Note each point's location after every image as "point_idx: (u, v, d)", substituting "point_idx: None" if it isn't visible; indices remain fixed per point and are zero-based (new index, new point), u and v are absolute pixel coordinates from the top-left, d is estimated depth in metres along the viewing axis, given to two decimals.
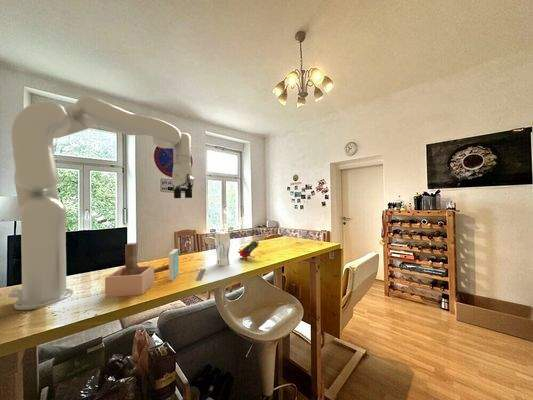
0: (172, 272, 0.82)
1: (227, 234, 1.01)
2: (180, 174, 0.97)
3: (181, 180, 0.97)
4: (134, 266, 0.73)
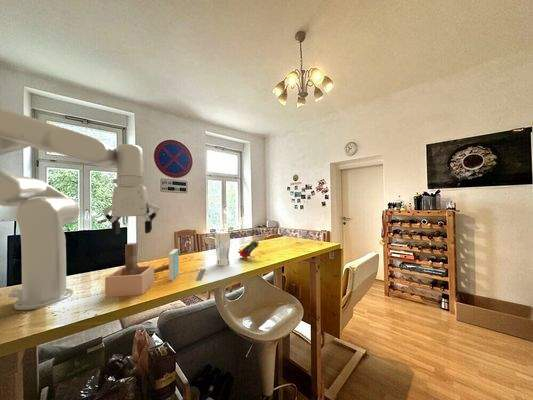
0: (172, 272, 0.82)
1: (227, 234, 1.01)
2: (138, 202, 0.72)
3: (141, 210, 0.72)
4: (134, 266, 0.73)
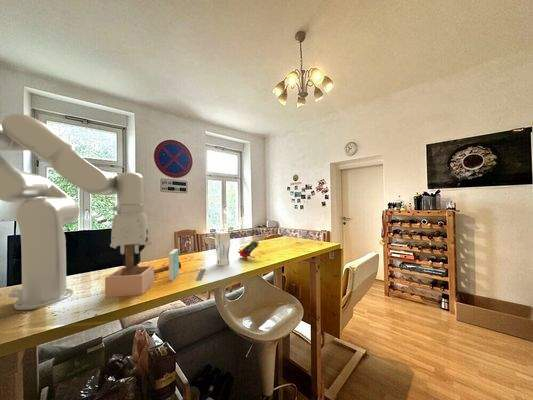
0: (172, 272, 0.82)
1: (227, 234, 1.01)
2: (137, 230, 0.72)
3: (140, 239, 0.72)
4: (134, 266, 0.73)
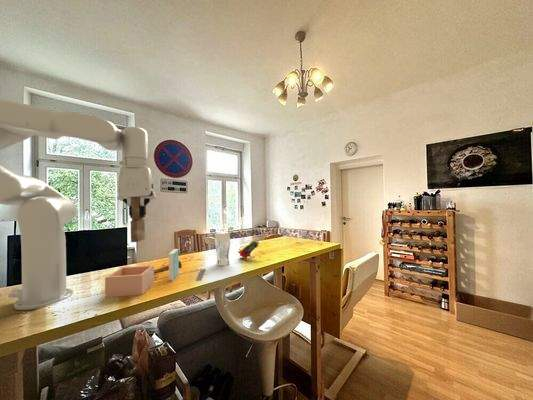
0: (172, 272, 0.82)
1: (227, 234, 1.01)
2: (143, 183, 0.74)
3: (145, 191, 0.74)
4: (140, 218, 0.76)
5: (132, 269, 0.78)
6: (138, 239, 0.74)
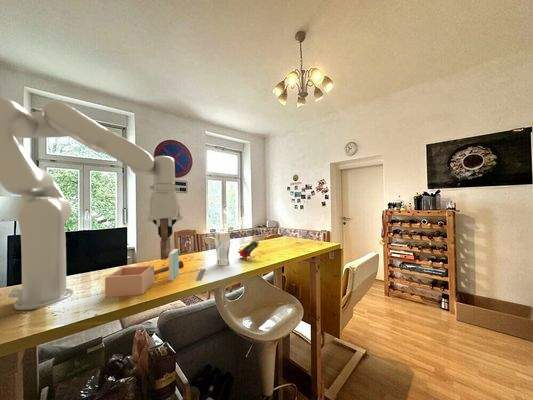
0: (172, 272, 0.82)
1: (227, 234, 1.01)
2: (171, 206, 0.83)
3: (174, 213, 0.83)
4: (168, 238, 0.85)
5: (132, 269, 0.78)
6: (166, 257, 0.83)
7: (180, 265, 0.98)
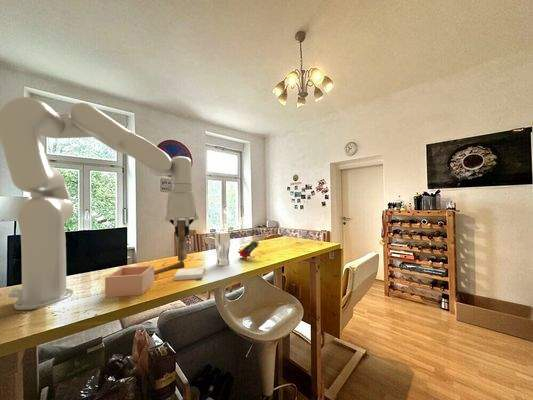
0: (182, 278, 0.82)
1: (227, 234, 1.01)
2: (188, 206, 0.84)
3: (191, 213, 0.84)
4: (185, 239, 0.85)
5: (132, 269, 0.78)
6: (183, 258, 0.84)
7: (181, 265, 0.98)
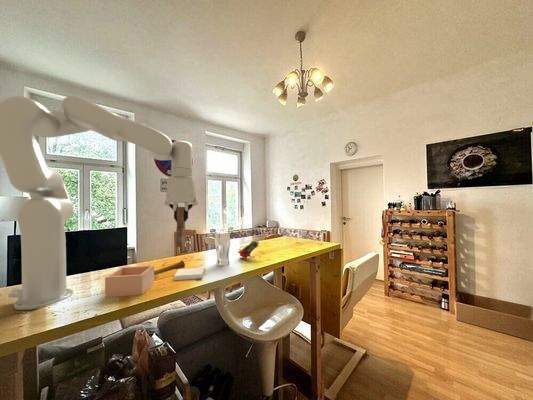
0: (182, 278, 0.82)
1: (227, 234, 1.01)
2: (188, 191, 0.84)
3: (190, 198, 0.84)
4: (183, 226, 0.85)
5: (132, 269, 0.78)
6: (182, 245, 0.83)
7: (181, 265, 0.98)
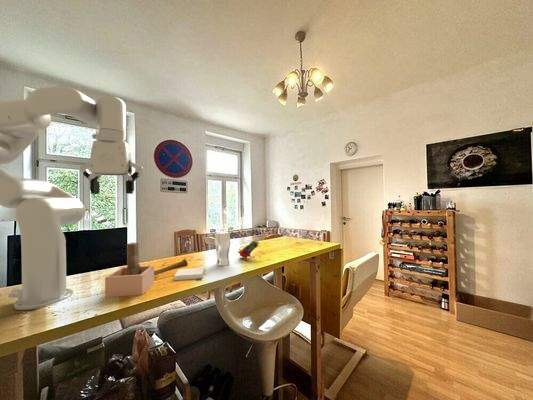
0: (182, 278, 0.82)
1: (227, 234, 1.01)
2: (118, 158, 0.66)
3: (121, 167, 0.66)
4: (136, 265, 0.74)
5: None
6: None
7: (184, 263, 1.00)
